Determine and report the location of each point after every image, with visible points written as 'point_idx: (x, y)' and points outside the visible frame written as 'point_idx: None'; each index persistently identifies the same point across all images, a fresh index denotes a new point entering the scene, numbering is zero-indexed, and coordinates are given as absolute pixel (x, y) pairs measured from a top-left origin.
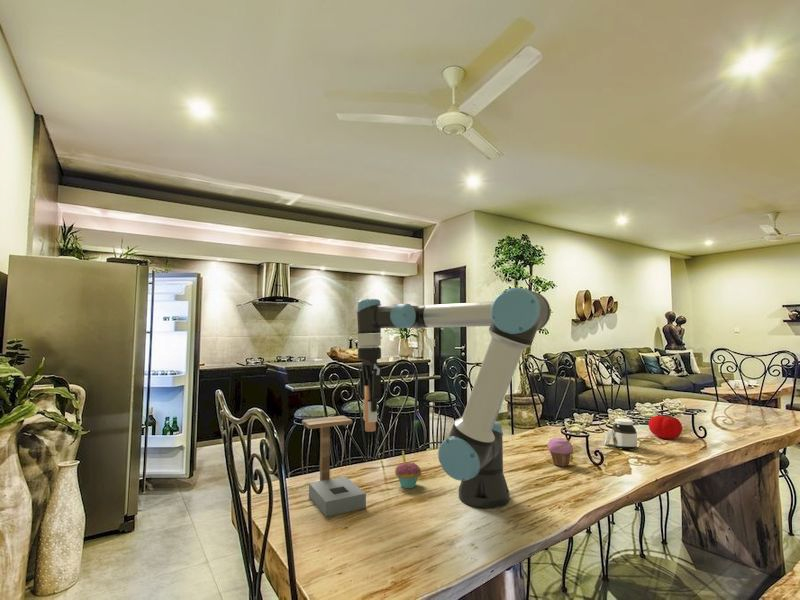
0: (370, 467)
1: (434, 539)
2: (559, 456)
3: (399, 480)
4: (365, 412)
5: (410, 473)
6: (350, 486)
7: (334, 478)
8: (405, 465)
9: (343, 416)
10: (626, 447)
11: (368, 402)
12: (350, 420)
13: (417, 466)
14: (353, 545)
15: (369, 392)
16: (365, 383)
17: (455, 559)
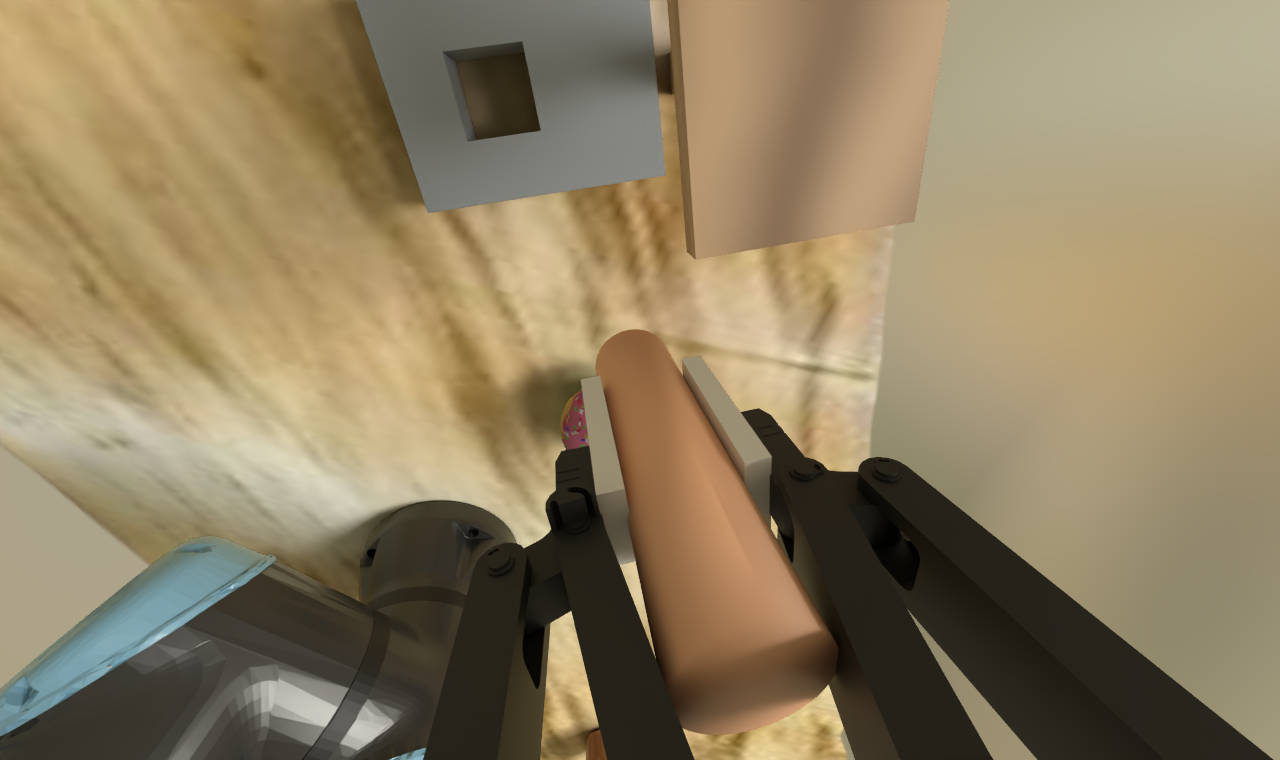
0: (828, 324)
1: (151, 357)
2: (592, 758)
3: None
4: (649, 395)
5: (563, 427)
6: (529, 164)
7: (657, 110)
8: None
9: (876, 212)
10: None
11: (615, 480)
12: (695, 240)
13: None
14: (72, 56)
15: (613, 593)
16: (857, 675)
17: (6, 372)
